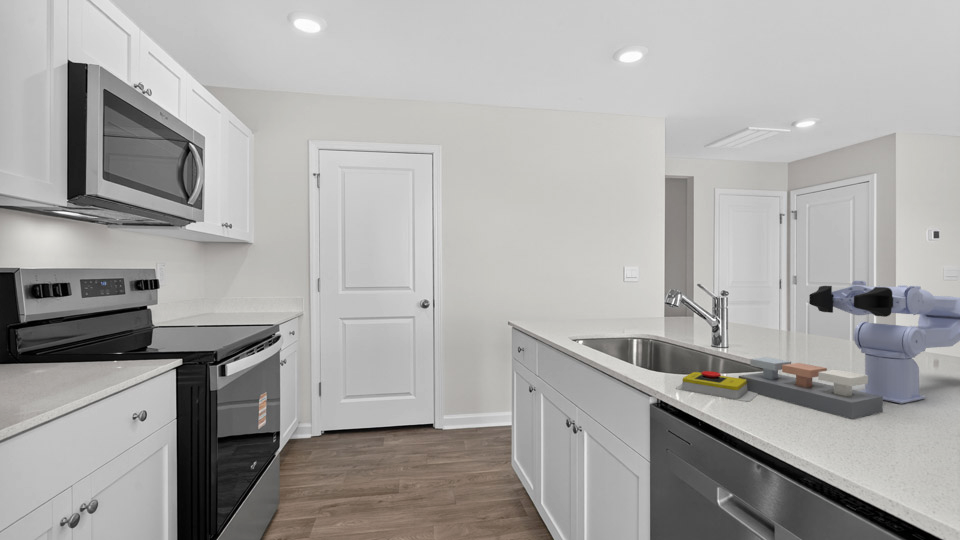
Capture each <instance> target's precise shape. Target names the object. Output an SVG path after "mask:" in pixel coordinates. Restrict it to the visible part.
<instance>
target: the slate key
mask: <svg viewBox="0 0 960 540" xmlns="http://www.w3.org/2000/svg"><path fill="white" fill-rule="evenodd" d="M786 364H792V361H789V360H784V359H779V358H773V357H769V356H764V357H763V356H762V357H754V358H750V366H751V367H756V368H761V369H762V371H763V378H768V379H772V380H774V379H778V374H779V371H782V365H786Z"/></svg>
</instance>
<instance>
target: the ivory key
mask: <svg viewBox="0 0 960 540" xmlns="http://www.w3.org/2000/svg"><path fill="white" fill-rule="evenodd" d="M817 378H818V381H824V382H827V383H833V386H834V394H838V395H842V396H852V390H853V387H856V386H861V385H865V384H867V383H868V375H865V374H862V373H856V372H850V371H845V370H839V369H830V370H829V369H828V370H827V371H822V372H818V377H817Z"/></svg>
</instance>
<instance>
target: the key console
mask: <svg viewBox="0 0 960 540" xmlns="http://www.w3.org/2000/svg"><path fill="white" fill-rule="evenodd" d="M738 378H741V379H746V380H747V390H748V391H750V392H754V393H758V395H759V396H764V397H768V398H771V399H775V400H779V401H783V402H786V403H790V404H792V405H793V404H794V405H797V406H801V407H805V408H809V409H812V410H817V411H820V412H823V413H828V414H831V415H835V416H839V417H842V418H846V419H850V420H854V419H859V418H863V417H866V416H871V415H875V414H881V413H883V411H884V410H883V409H884V405H883V401H884V400H883V396H879V395H874V394H869V393H865V392H860V391H861V390H854V389H852V396H842V395H838V394H834V385H831V384H826V383H822V382H818V381H813V380H812V387H803V386H798V385H796V376H795V377H794V376H789V375H785V374H780V373H778V379H774V380H772V379H768V378H763V372H756V373H748V374H743V375H738Z"/></svg>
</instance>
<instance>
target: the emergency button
mask: <svg viewBox="0 0 960 540" xmlns="http://www.w3.org/2000/svg"><path fill="white" fill-rule="evenodd" d="M675 389H676V390H679V391H684V392H688V393H694V394H701V395H706V396H711V397H717V398H721V399H727V400H728V399H729V400H735V401H739V402H746V403H751V401H753V400H754V399H755V398H756V397H757V396H758V395H759V394H758V393H754V392H750V391H748V390H747V380H746V379H741V378H739V377H733V376H727V375H726V376H725V375H722V374H721V373H719V372H717V371H709V370H704V371H702V372H699V371H693V372H691V373H689V374H688V375H686V376H684V377H682V383H681V384H679V385H678V386H676V387H675Z"/></svg>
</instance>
